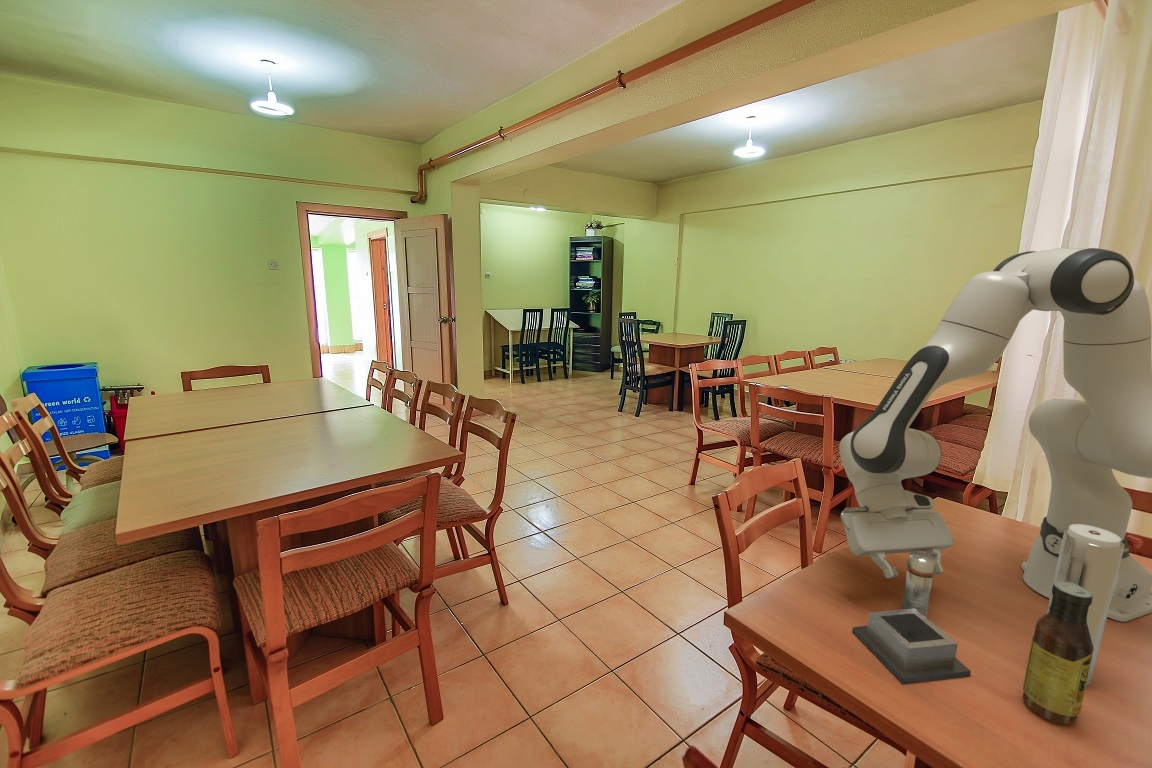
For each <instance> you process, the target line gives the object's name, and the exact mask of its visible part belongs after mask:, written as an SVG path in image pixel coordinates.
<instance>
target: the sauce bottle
mask: <svg viewBox="0 0 1152 768" xmlns="http://www.w3.org/2000/svg"><path fill="white" fill-rule="evenodd" d="M1052 595H1053V598H1052V603H1051V606H1050V607H1049V609H1050V612H1048V613H1047V614H1044V615H1042V616H1041V617H1040V618H1038V619H1037V621H1036V623H1035V628H1034V631H1033V632H1034V633H1033V636H1032V638H1031V644H1030V649H1029V653H1028V659H1027V664H1026V670H1025V675H1024V680H1023V687H1022V690H1023V692H1022V699H1023V702H1024V703H1025V705H1026V706H1027V707H1028V708H1029V709H1030V710H1031V711H1032V712H1033V713H1035V714H1036V715H1038V716H1039V717H1042V718H1043V719H1045V720H1048V721H1050V722H1052V723H1056V724H1059V725H1063V726H1065V725H1068V726H1069V725H1073V724H1074V723H1076V721H1077V720H1078V716H1079V715H1080V714H1081V710H1082V706H1083V701H1084V696H1085V693H1086V692H1085V691H1086V688H1087V686H1086V684H1087V679H1088V675H1089V669H1090V665H1091V660H1092V656H1093V650H1094V648H1093V644H1092V640H1091V636H1090V633H1089V629H1088V625H1087V614H1088V609H1089V606H1090V605H1091V604H1092V598H1093V595H1092V593H1091V592H1090V591H1088V590H1086V589H1085V588H1083V587H1081V586H1078V585H1075V584H1072V583H1068V582H1060V581H1059V582H1055V583H1054V584H1053V588H1052Z"/></svg>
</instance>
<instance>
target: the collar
mask: <svg viewBox="0 0 1152 768" xmlns="http://www.w3.org/2000/svg"><path fill="white" fill-rule="evenodd" d="M867 619H868V620H867V625H859V626H853V627H852V633H853V634H854V636H855V637H857V639H859V641H861V643H863V645H864V646H865V647H866V648H867V649H868V650H869V651H870V652H871V653H872V654H873V655H874V656H875V657H876V658H877V659H878V660H879V661H880V662H881V663H882V664H883V665H884V666H885V668H887V670H889V672H890V673H892V675H894V677H895V678H896V679H897V680H898V681H899V682H900V683H901V684H902V685H906V684H916V683H923V682H924V683H925V682H933V681H940V680H941V681H942V680H950V679H957V678H967V677H970V676H971V673H972V670H971V669H970V668H969V667H967V666H966V665H965V664H963V663H962V662H961V660H959V659H958V658H957V656H956V655H957V651H958V645H959V644H958V642H956V640H955V639H953V638H952V637H951V636H949V635H948V634H947V633H946V632H945V631H943V630H942V629H941V628H940V627H938V626H937V625H936V624H934V622H932V621H931V620H930V619H928V617H925V616H923V615H922V614H921V613H920V612H919V611H917V610H916V609H915V608H912V609H902V608H901V609H893V610H882V611H872V612H871V611H870V612H869V613H868V618H867Z"/></svg>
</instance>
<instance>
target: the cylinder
mask: <svg viewBox="0 0 1152 768" xmlns="http://www.w3.org/2000/svg"><path fill="white" fill-rule="evenodd" d="M934 567H935V559H934V558H933V557H932V556H930V555H928V554H926V552H923V551H919V552H909V555H908V562H907V565H906V577H905V583H904V589H903V596H902V603H901V609H912V608H915V609H916V610H917V611H919V612H920V613H921V614H922V615H923V616H925V617H926V618H928V617H927V616H928V610H929V605H930V604H929V603H930V597H931V590H932V586H933V578H934V576H935V575H934V571H935V570H934Z"/></svg>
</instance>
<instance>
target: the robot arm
mask: <svg viewBox="0 0 1152 768" xmlns="http://www.w3.org/2000/svg"><path fill="white" fill-rule="evenodd" d="M1034 310H1035V311H1040V312H1041V311H1042V312H1060V314H1061V316H1062V317H1063V321H1064V322H1063V329H1062V330H1063V331H1062V333H1063V334H1062V335H1063V336H1062V337H1063V339H1062V340H1063V341H1062V344H1063V347H1062V348H1063V351H1062V353H1063V358H1062V359H1063V376H1064V379H1065V381H1066V382H1067V384H1068V385H1069V386H1070V387H1071V388H1072V389H1074V390H1075V391H1077V393H1079V395H1080V396H1081V398H1083V400H1081V399H1080V400H1079V399H1070V398H1069V399H1066V398H1064V399H1063V398H1052V399H1047V400H1045V401H1043V402H1041V403H1039V404H1038V405H1037V406H1036V407H1035V408H1034V409H1033V410H1032V411H1031V413H1030V415H1029V419H1028V430H1029V432H1030V434H1031V435H1032V436H1033V438H1034V439H1035V440H1036V441H1037V443H1038V444H1039V446H1040V447H1041V449H1042V450H1043V453H1044V455H1045V458H1046V461H1047V464H1048V469H1049V472H1050V479H1051V480H1050V481H1051V485H1050V486H1051V488H1050V493H1049V500H1048V501H1049V502H1048V508H1047V513H1046V516H1045V517H1043V519H1042V522H1041V523H1040V531H1039V536H1036V537H1035V539H1034V541H1033V544H1032V546H1031V550H1030V553H1029V555H1028V558H1027V561H1023V562H1022V563H1021V565H1020V567H1021V569H1022V570H1023V571H1024V572H1023V575H1022V579H1023V581H1024V582H1025V584H1026V585H1028V586H1029V588H1031V589H1032V590H1033V591H1035V592H1036V593H1038V594H1040V595H1042V596H1044V597H1045V598H1048V600H1049V599H1050V594H1051V589H1052V585H1053V580H1054V576H1055V571H1056V567H1057V562H1058V557H1059V553H1060V548H1061V544H1062V539H1063V535H1064V531H1065V529H1067V528H1069V526H1070V525H1072V524H1083V525H1089V526H1094V527H1098V528H1101V529H1104V530H1107V531H1110V532H1112V533H1114V534H1116V535H1118V536H1119V537H1120V538H1121V542H1122V543H1123V544H1124V550H1123V554H1122V559H1121V563H1120V567H1119V571H1118V575H1117V579H1116V583H1115V587H1114V591H1113V595H1112V599H1111V603H1110V607H1109V611H1108V615H1107V618H1108V619H1112V620H1115V621H1118V622H1122V623H1123V622H1124V623H1125V622H1129V621H1132V620H1134V619H1135V620H1136V619H1137V618H1140V617H1142V616H1145V615H1148V614H1151V613H1152V573H1151V572H1150V571H1149V569H1147V568H1146V567H1145V566H1143V565H1142V564H1141V563H1140V562H1139V561H1138V560H1136V558H1134V557H1133V556H1132V555H1131V554H1130V549H1129V546H1131V548H1134V549H1140V548H1141V547H1142V546H1143V544H1144V541H1143V538H1140V537H1135V536H1133V535H1131V534H1127V529H1128V526H1129V521H1130V517H1131V513H1132V510H1133V500H1132V497H1131V496H1130V494H1129V493H1128V491H1127V490H1126V489H1125V488H1124V487H1123V486H1122V484H1120V483H1119V481H1118V480H1117V479H1116V475H1115V474H1114V472H1113V470H1114V471H1117V472H1120V473H1123V474H1127V475H1128V476H1129V475H1130V476H1133V477H1134V476H1135V477H1140V478H1145V479H1152V318H1151V317H1152V316H1151V309H1150V304H1149V300H1148V296H1147V292H1146V289H1145V287H1144V285H1143V284H1142V283H1141V282H1140V281H1138V280H1136V279H1135V276H1134V270H1133V268H1132V266H1131V263H1130V262H1129V260H1128V259H1127V258H1126V257H1125V256H1123V254H1121V253H1118V252H1116V251H1113V250H1109V249H1104V248H1096V247H1091V248H1077V247H1075V248H1074V247H1059V248H1058V247H1057V248H1052V249H1046V250H1038V251H1037V250H1035V251H1034V250H1033V251H1031V250H1029V251H1024V252H1019V253H1016V254H1014V255H1012V256H1009V257H1007V258H1005V259H1004V260H1003V261H1001V262H1000V263H999V264H998V265H996V267H995V268H994V269H993V270H992V271H989V270H988V271H984V272H980V273H977V274H975V275H973V276H971V277H970V278H969V280H967V282H966V283H965V284H964V285H963V286H962V288H961V289H960V291H959V292H958V293H957V295H955V297H954V298H953V300H952V301H951V303H950V304H949V306H948V308H947V309H946V311H945V312H944V314H943V316H942V318H941V319H940V321H939V323H938V325H937V327H936V328H935V330H934V332H933V333H932V335H931V336H930V337H929V339H928V340H927V342H926V343H925V344H924V345H923V346H921V349H919V350H918V351H916V352H915V353H914V355H912V356H911V357H910V359H908V361H907V363H906V364H905V365H904V366H903V368H902V370H901V371H900V372H899V373H898V375H897V377H896V378H895V380H894V381H893V383H892V384H891V385H890V387H889V389H888V391H886V393H885V395H884V396H883V398H882V399H881V401H880V402H879V404H878V405H877V407H876V408H875V409H874V411H873V412H872V413H871V414H870V416H868V417H867V418H866V419H865V420H864V421H862V422H861V423H860V424H859V425H858V426H857V427H856V428H855V429H854V430H853V431H851V432H849V433H847V434H845V436H844V437H842V439H841V440H840V442H839V445H838V449H839V456H840V460H841V463H842V467H843V468H844V470H845V473H846V476H847V478H848V480H849V481H850V483H851V484H852V486H853V488H854V494H855V498H856V501H857V502H858V506H857V507H844V510H842V511H841V513H840V519H841V522H842V524H843V527H844V531H845V535H846V539H847V543H848V547H849V550H850V551H851V552H852V553H853V554H854V555H855V556H857V557H858V556H859V557H860V556H871V559H872V561H873V562H874V563H875V564H876V565H877V566H878V567H879V568H880V569H881V570H882V571H883V574H884V576H885V578H886V579H896V578H898V577H899V573H898V571H897V567H896V566H891V564H890V563H889V562H888V561H887V559H885V558H886V557H887V556H886V554H887V555H888V554H898V553H899V554H903V553H911V552H924V553H926V554H928V555H930V556H932V557H933V558H934V559H935V567H934V570H935V571H934V576H936V575H941V574H944V569H943V567H942V565H941V562H942V561H941V560H942V552H941V551H943V550H945V549H948V548H951V547H952V546H954V537H953V534H952V532H951V531H950V529H949V526H948V525H947V523H946V521H945V519H944V518H943V516H942V515H941V513H940V512H938V510H936V509H934V507H935V506H936V504H935V501H934V500H933V498H932V497H930V496H927V495H923V494H919V493H915V492H913V491H910V490H908V489H907V490H906V489H904V487H903V485H902V480H906V479H912V478H914V479H915V478H919V477H922V476H927V475H929V474H931V473H933V472H934V471H936V470H937V468H938V467H939V465H940V464H941V460H942V455H943V454H942V453H943V452H942V447H941V445H940V443H939V441H938V439H936V437H934V436H933V435H931V434H930V433H928V432H924V431H922V430H919V429H915V428H910V426H911V425H912V423H913V421H914V420H915V419H916V417H917V416H918V414H919V413H920V411H921V410H922V409H923V407H924V405H925V404H926V403H927V401H928V400H929V398H930V397H931V396H932V395H933V394H934V392H935V391H937V389H939V388H940V387H942V386H944V385H946V384H949V383H951V382H953V381H957V380H962V379H966V378H967V379H968V378H972V377H976V376H978V375H981V374H984V373H985V372H987V371H989V370H990V369H991V368H992V367H993V366H994V364H995V363H996V362H997V361H998V360H999V359H1000V358H1001V356H1002V355H1003V353H1005V352H1004V351H1005V350H1006V349H1007V346H1008V344H1009V343H1010V340H1012V337H1013V335H1014V333H1015V332H1016V330H1017V327H1018V326H1019V323H1020V321H1022V320H1023V318H1024V317H1025V316H1026V315H1027V314H1029V313H1030V312H1032V311H1034ZM1126 534H1127V535H1126Z"/></svg>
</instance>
